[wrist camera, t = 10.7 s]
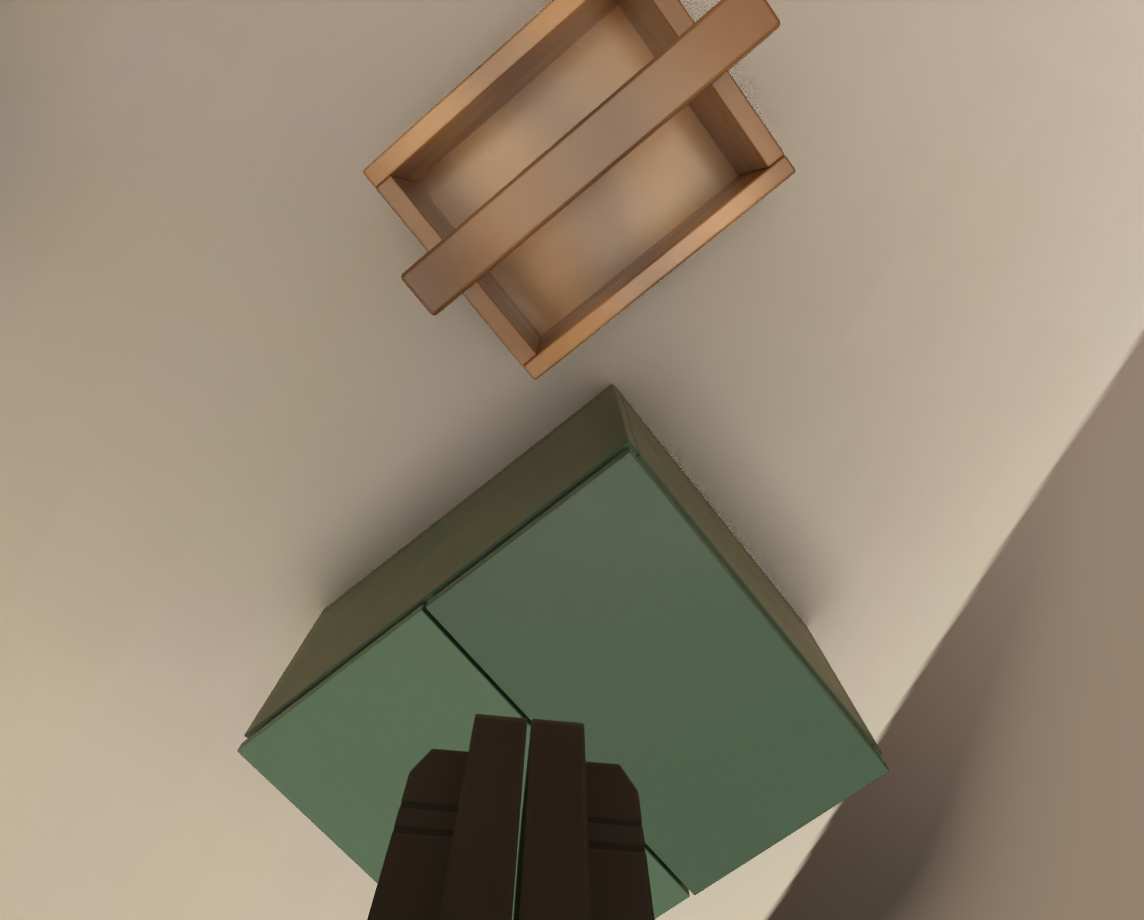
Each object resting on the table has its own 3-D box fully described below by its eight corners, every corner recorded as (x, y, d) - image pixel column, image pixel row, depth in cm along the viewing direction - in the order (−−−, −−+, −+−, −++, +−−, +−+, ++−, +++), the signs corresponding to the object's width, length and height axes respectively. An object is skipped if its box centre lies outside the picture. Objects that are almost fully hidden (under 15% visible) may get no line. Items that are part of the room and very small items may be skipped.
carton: (525, 820, 37) (512, 1014, 28) (321, 611, 34) (233, 751, 25) (807, 626, 34) (893, 771, 25) (612, 383, 31) (631, 447, 22)
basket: (539, 356, 31) (525, 427, 20) (395, 180, 29) (296, 154, 18) (759, 179, 29) (869, 155, 19) (619, -19, 27) (653, -174, 17)
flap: (513, 1001, 28) (513, 1012, 28) (241, 743, 25) (236, 751, 25) (688, 887, 27) (690, 896, 26) (423, 603, 24) (420, 609, 24)
